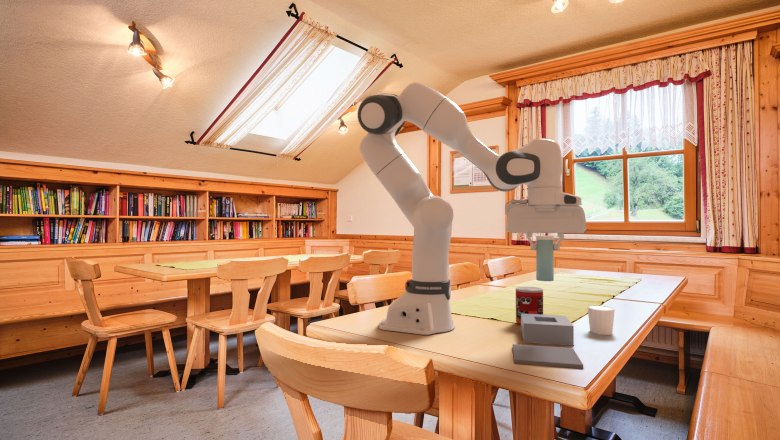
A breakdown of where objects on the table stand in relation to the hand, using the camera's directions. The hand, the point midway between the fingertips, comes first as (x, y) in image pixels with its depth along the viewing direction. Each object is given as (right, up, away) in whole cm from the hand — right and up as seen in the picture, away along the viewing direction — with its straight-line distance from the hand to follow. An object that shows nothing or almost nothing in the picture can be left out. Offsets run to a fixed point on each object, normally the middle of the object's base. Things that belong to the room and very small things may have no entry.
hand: (544, 250), depth 111 cm
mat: (-6, -24, -16) cm, 29 cm away
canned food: (+1, -24, +15) cm, 29 cm away
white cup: (+18, -24, +6) cm, 31 cm away
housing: (0, -24, 0) cm, 24 cm away
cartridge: (0, -8, 0) cm, 8 cm away
